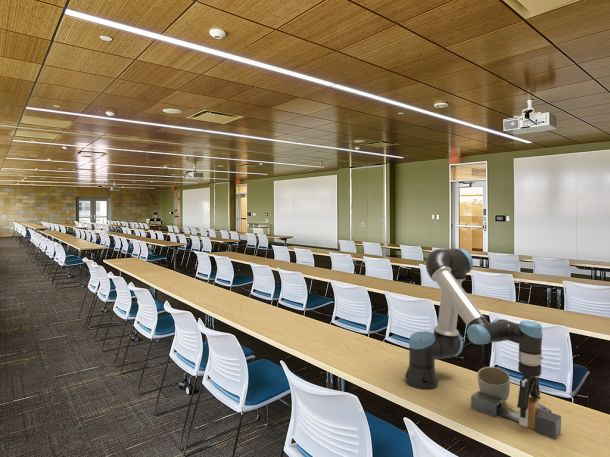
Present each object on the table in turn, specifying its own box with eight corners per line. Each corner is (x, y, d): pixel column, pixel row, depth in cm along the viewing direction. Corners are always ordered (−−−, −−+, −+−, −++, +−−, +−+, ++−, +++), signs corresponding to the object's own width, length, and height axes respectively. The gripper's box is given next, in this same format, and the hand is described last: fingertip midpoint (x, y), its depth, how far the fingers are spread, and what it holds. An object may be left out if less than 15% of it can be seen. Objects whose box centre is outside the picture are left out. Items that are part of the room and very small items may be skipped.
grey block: (470, 408, 159) (471, 395, 159) (477, 402, 163) (478, 390, 163) (496, 417, 152) (496, 404, 151) (502, 411, 156) (502, 399, 156)
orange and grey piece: (496, 415, 153) (496, 390, 153) (499, 412, 156) (500, 387, 155) (550, 435, 139) (551, 408, 139) (554, 431, 142) (554, 404, 142)
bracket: (531, 403, 165) (531, 398, 165) (551, 415, 155) (551, 410, 155) (523, 404, 164) (523, 399, 164) (543, 416, 154) (543, 411, 154)
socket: (535, 431, 141) (535, 415, 141) (540, 425, 146) (541, 409, 146) (555, 439, 137) (555, 422, 137) (560, 432, 141) (561, 415, 141)
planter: (517, 403, 159) (516, 381, 156) (488, 410, 158) (487, 388, 156) (499, 385, 171) (498, 364, 168) (473, 391, 170) (471, 370, 168)
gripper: (530, 373, 135) (529, 435, 136) (550, 358, 151) (548, 413, 151) (508, 367, 141) (506, 427, 141) (528, 353, 156) (527, 406, 157)
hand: (528, 420), depth 146 cm, fingers open, 10 cm apart
